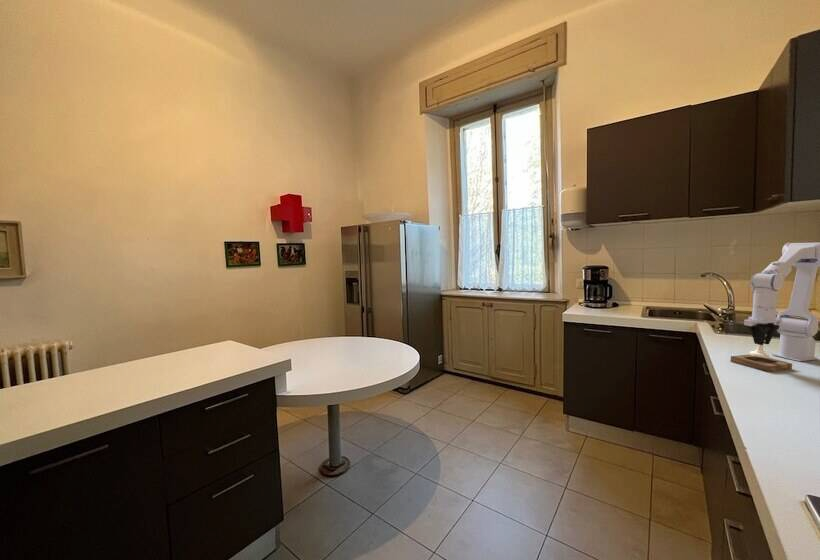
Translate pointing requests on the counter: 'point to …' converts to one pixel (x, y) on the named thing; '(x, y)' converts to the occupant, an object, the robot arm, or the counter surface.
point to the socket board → (761, 363)
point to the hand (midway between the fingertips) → (761, 344)
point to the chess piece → (759, 352)
